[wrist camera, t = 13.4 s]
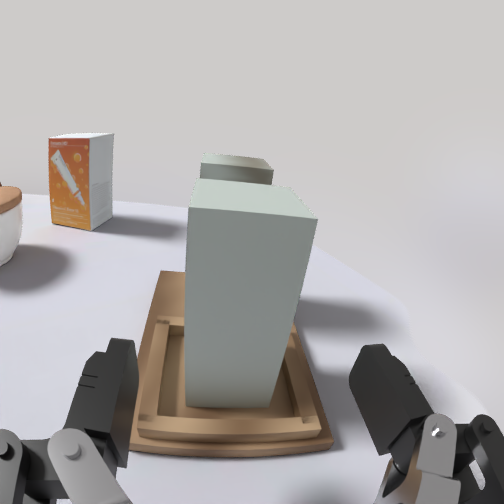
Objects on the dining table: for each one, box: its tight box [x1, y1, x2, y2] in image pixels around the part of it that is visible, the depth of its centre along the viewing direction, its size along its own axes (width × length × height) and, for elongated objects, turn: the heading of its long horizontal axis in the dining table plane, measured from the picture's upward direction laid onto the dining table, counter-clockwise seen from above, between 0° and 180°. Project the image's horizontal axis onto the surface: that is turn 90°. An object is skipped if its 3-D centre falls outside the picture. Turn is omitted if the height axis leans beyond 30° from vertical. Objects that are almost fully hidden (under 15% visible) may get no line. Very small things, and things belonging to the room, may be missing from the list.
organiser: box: [129, 153, 334, 457], centre depth 20 cm, size 12×19×13 cm, turn 6°
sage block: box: [184, 178, 318, 408], centre depth 16 cm, size 5×5×12 cm
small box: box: [49, 133, 114, 231], centre depth 38 cm, size 8×6×13 cm
